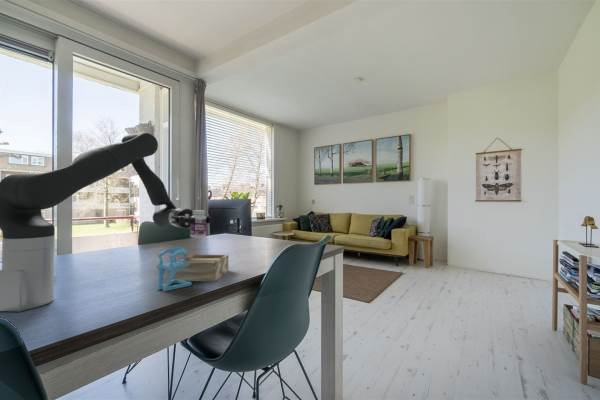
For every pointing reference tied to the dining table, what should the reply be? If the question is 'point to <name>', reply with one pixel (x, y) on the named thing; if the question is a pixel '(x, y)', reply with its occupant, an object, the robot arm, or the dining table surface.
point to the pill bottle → (198, 224)
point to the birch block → (203, 268)
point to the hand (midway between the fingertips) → (202, 220)
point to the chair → (172, 269)
